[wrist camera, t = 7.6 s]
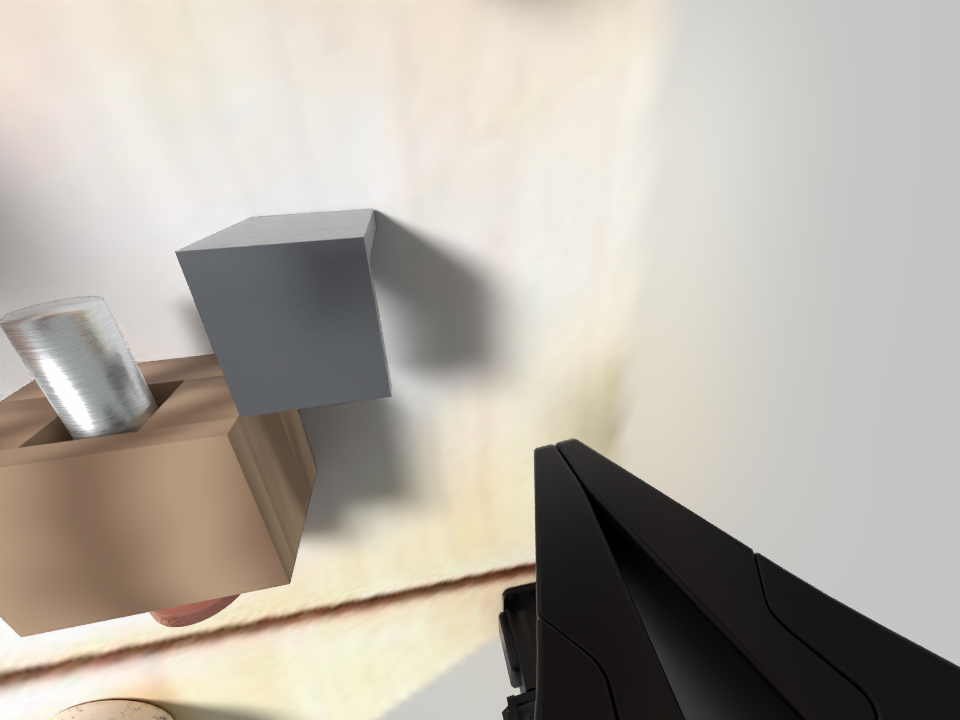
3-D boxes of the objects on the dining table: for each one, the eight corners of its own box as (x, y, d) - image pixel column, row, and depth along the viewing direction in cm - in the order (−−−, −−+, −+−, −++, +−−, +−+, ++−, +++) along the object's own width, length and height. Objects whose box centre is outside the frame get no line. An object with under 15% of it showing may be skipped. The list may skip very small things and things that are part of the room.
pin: (164, 282, 16) (86, 327, 12) (269, 530, 22) (241, 614, 18) (29, 294, 15) (-105, 347, 11) (178, 547, 21) (129, 637, 17)
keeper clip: (373, 208, 17) (363, 236, 12) (391, 325, 20) (391, 396, 14) (250, 217, 17) (174, 251, 11) (286, 337, 19) (239, 417, 13)
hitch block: (278, 346, 20) (226, 435, 13) (316, 470, 23) (290, 583, 17) (44, 373, 18) (-134, 486, 12) (125, 501, 22) (21, 637, 16)
